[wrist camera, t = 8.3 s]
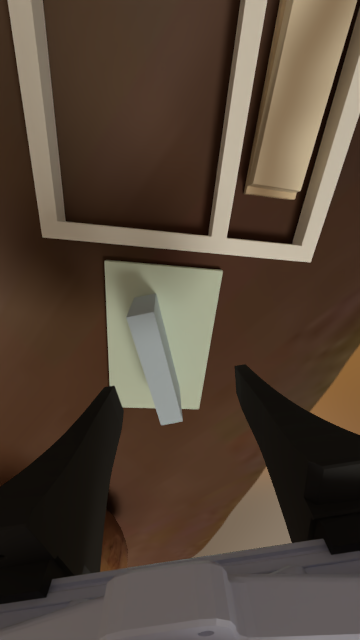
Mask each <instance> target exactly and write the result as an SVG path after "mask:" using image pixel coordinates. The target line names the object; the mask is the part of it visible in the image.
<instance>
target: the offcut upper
mask: <svg viewBox="0 0 360 640" xmlns="http://www.w3.org/2000/svg"><path fill="white" fill-rule="evenodd" d="M356 3H357V0H287V1H286V6H285V10H284V15H283V20H282V25H281V29H280V34H279V39H278V44H277V48H276V53H275V58H274V62H273V67H272V72H271V77H270V81H269V86H268V91H267V96H266V100H265V105H264V110H263V115H262V119H261V124H260V129H259V133H258V138H257V143H256V148H255V152H254V157H253V162H252V167H251V171H250V176H249V181H248V185H247V186H250V187H257V188H263V189H269V190H276V191H282V192H288V193H294V192H299V191H301V188H302V185H303V181H304V178H305V175H306V171H307V168H308V164H309V161H310V158H311V154H312V151H313V148H314V144H315V141H316V138H317V134H318V131H319V127H320V124H321V121H322V117H323V114H324V111H325V107H326V104H327V101H328V97H329V94H330V91H331V87H332V84H333V80H334V77H335V74H336V70H337V67H338V64H339V60H340V57H341V54H342V50H343V47H344V43H345V40H346V37H347V33H348V30H349V27H350V23H351V20H352V17H353V13H354V10H355V6H356Z"/></svg>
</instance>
